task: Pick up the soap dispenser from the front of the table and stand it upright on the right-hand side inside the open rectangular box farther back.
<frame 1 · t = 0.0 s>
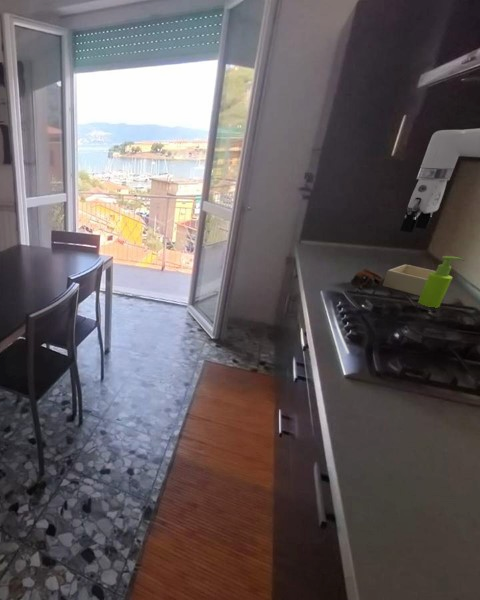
hand: (413, 229, 116), 30 cm above the worktop, tool pointing down, fingers open, 9 cm apart
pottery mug: (363, 287, 151), on the worktop
soap dispenser: (428, 309, 131), on the worktop
open rectangular box: (410, 287, 150), on the worktop
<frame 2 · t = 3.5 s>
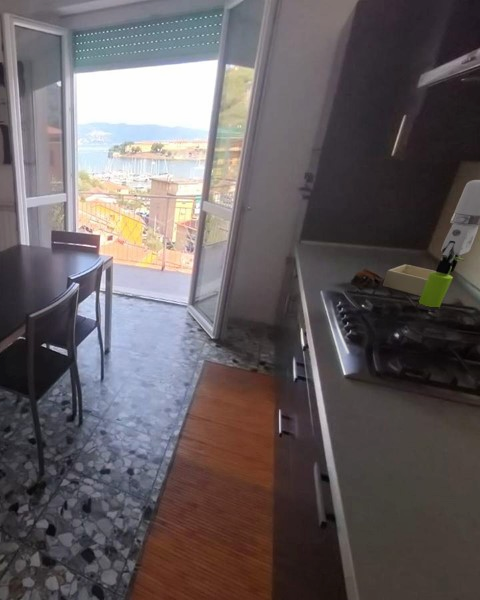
hand: (444, 271, 125), 15 cm above the worktop, tool pointing down, fingers closed on soap dispenser, 3 cm apart
soap dispenser: (428, 309, 131), on the worktop, touching gripper
everything else where it was.
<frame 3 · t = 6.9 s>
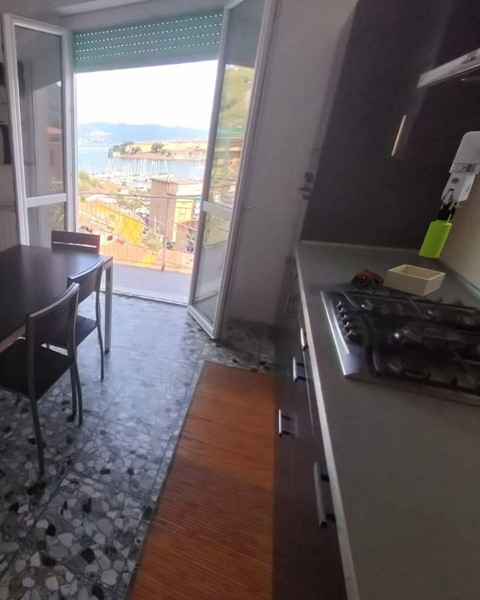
hand: (444, 219, 136), 29 cm above the worktop, tool pointing down, fingers closed on soap dispenser, 3 cm apart
soap dispenser: (430, 256, 142), point 14 cm above the worktop, touching gripper
everything else where it was.
when the fingers open (16 cm above the worktop, at t = 10.6 s): soap dispenser stays where it is, resting on open rectangular box.
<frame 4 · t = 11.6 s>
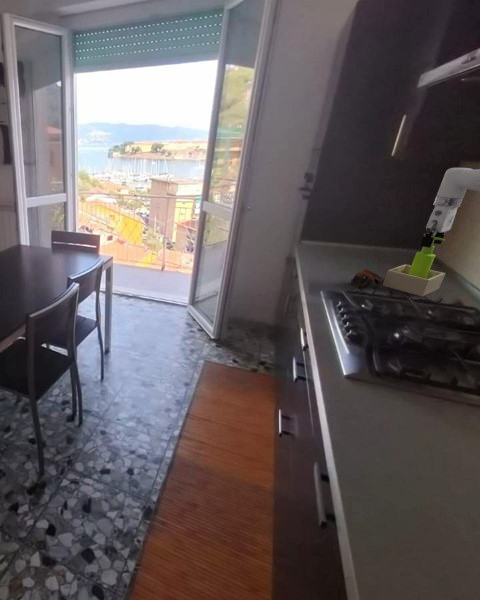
hand: (430, 245, 144), 18 cm above the worktop, tool pointing down, fingers open, 9 cm apart
soap dispenser: (415, 284, 151), point 1 cm above the worktop, touching open rectangular box
everything else where it was.
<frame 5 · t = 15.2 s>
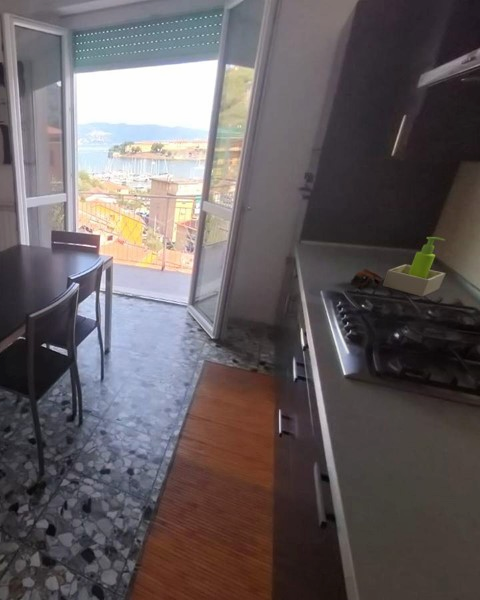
nothing on the worktop moved.
at the end: soap dispenser 0.6 cm from the target spot in the open rectangular box, point 0.8 cm above the open rectangular box's base; soap dispenser tilted 0°; the gripper is holding nothing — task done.
